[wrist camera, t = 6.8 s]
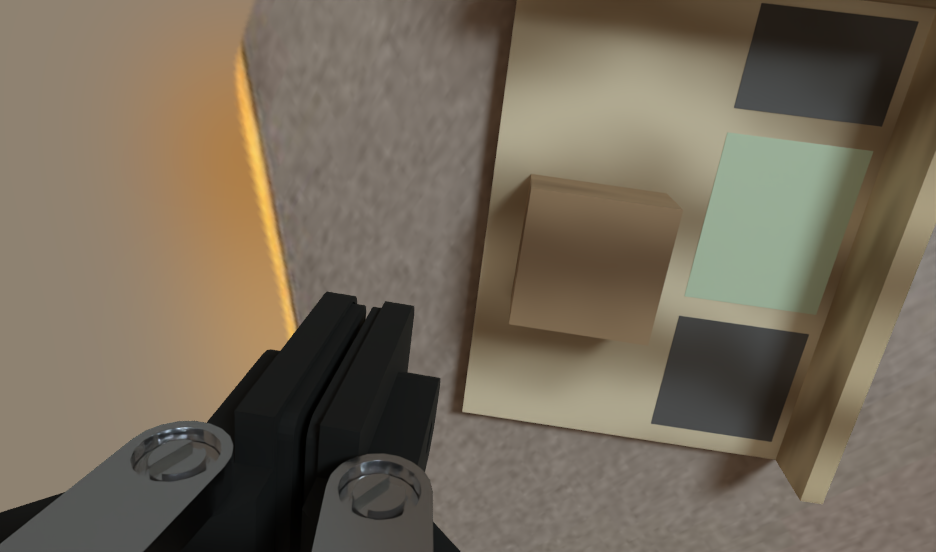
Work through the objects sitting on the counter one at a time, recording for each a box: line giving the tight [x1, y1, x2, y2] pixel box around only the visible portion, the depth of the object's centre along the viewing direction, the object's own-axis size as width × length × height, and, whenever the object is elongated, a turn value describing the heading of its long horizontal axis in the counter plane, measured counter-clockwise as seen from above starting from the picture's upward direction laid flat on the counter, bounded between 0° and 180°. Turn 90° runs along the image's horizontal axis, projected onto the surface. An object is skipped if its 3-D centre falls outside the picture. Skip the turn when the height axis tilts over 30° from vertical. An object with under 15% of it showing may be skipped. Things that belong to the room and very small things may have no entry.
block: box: [509, 174, 683, 346], centre depth 26 cm, size 6×6×3 cm
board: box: [462, 0, 936, 504], centre depth 26 cm, size 22×17×4 cm
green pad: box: [685, 132, 873, 315], centre depth 27 cm, size 8×6×1 cm
